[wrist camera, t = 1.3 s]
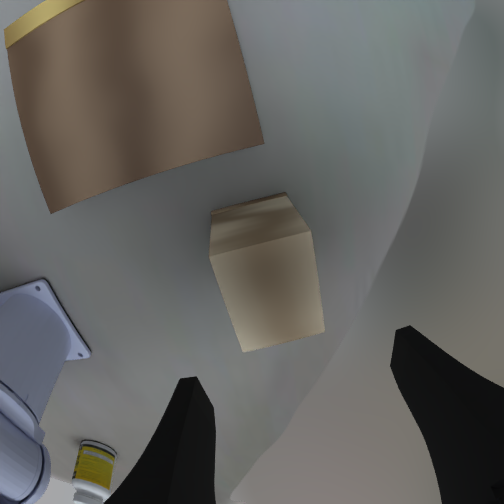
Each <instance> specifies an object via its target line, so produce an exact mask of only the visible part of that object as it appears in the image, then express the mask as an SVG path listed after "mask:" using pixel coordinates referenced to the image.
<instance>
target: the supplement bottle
mask: <svg viewBox="0 0 504 504" xmlns="http://www.w3.org/2000/svg"><path fill="white" fill-rule="evenodd" d="M116 458H117V455H116V453H115V452H114V451H113V450H112V449H111V448H109V447H107V446H105V445H103V444H100V443H97V442H93V441H83V442H82V443H81V445H80V448H79V452H78V456H77V461H76V465H75V469H74V473H73V478H72V485H73V487H74V488H75V489H76V490H77V493H75V494H74V499H73V502H74V503H76V504H103V503H104V502H103V499H107V498H109V497H110V494H111V489H112V482H113V476H114V470H115V464H116Z"/></svg>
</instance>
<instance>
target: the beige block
mask: <svg viewBox="0 0 504 504" xmlns="http://www.w3.org/2000/svg"><path fill="white" fill-rule="evenodd" d="M211 216H212V221H211V233H210V246H209V259H210V262H211V265H212V268H213V271H214V274H215V276H216V279H217V282H218V285H219V288H220V291H221V294H222V296H223V299H224V302H225V305H226V308H227V310H228V313H229V316H230V319H231V321H232V324H233V327H234V329H235V332H236V335H237V338H238V340H239V343H240V346H241V348H242V351H243V353H244V352H248V351H253V350H257V349H261V348H266V347H270V346H274V345H278V344H282V343H286V342H290V341H294V340H297V339H301V338H305V337H309V336H312V335H316V334H319V333H323V332H325V328H324V320H323V311H322V303H321V295H320V288H319V280H318V273H317V266H316V259H315V253H314V246H313V240H312V233H311V230H310V228H309V227H308V226H307V224H306V223H305V221H304V220H303V218H302V217H301V216H300V214H299V213H298V211H297V210H296V208H295V207H294V206H293V204H292V203H291V201H290V200H289V199H288V197H287V194H286V193H285V192H284V193H280V194H276V195H272V196H268V197H264V198H260V199H256V200H252V201H248V202H244V203H240V204H236V205H232V206H228V207H225V208H221V209H217V210H213V211H211Z"/></svg>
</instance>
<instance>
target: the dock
mask: <svg viewBox="0 0 504 504" xmlns="http://www.w3.org/2000/svg"><path fill="white" fill-rule="evenodd" d="M4 35H5V45H6V49H7V51H8V59H9V66H10V73H11V79H12V85H13V90H14V95H15V100H16V105H17V109H18V113H19V118H20V122H21V126H22V129H23V133H24V137H25V140H26V144H27V147H28V151H29V154H30V157H31V161H32V164H33V167H34V170H35V173H36V176H37V179H38V181H39V184H40V187H41V190H42V193H43V195H44V198H45V201H46V203H47V206H48V208H49V211H50V213H51V214H52V213H54V212H56V211H59V210H61V209H63V208H66V207H68V206H71V205H73V204H75V203H78V202H80V201H83V200H85V199H88V198H90V197H93V196H95V195H98V194H101V193H103V192H106V191H108V190H111V189H114V188H117V187H119V186H122V185H125V184H128V183H131V182H133V181H136V180H139V179H142V178H145V177H148V176H151V175H154V174H157V173H160V172H163V171H166V170H170V169H173V168H176V167H179V166H183V165H186V164H189V163H193V162H196V161H200V160H203V159H207V158H210V157H214V156H218V155H221V154H225V153H229V152H233V151H237V150H241V149H245V148H249V147H253V146H257V145H262V144H264V140H263V136H262V132H261V127H260V123H259V119H258V115H257V111H256V107H255V103H254V99H253V95H252V91H251V87H250V83H249V79H248V75H247V71H246V68H245V64H244V60H243V56H242V53H241V49H240V45H239V41H238V38H237V34H236V30H235V27H234V23H233V20H232V16H231V13H230V9H229V6H228V2H227V0H46V1H44V2H43V3H41V4H39V5H38V6H36V7H35V8H33V9H32V10H30V11H29V12H27V13H26V14H24V15H23V16H22V17H20V18H19V19H17V20H16V21H15V22H13V23H12V24H11V25H9V26H8V27H7V28H5V29H4Z"/></svg>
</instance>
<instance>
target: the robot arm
mask: <svg viewBox="0 0 504 504" xmlns="http://www.w3.org/2000/svg"><path fill="white" fill-rule="evenodd" d="M38 286H39V287H40V288H39V287H38ZM90 355H91V352H90V350H89V349H88V347H87V346H86V344H85V343H84V341H83V340H82V339H81V337H80V336H79V334H78V332H77V331H76V329H75V328H74V326H73V325H72V323H71V322H70V320H69V318H68V317H67V315H66V314H65V312H64V310H63V309H62V307H61V305H60V304H59V302H58V300H57V298H56V297H55V295H54V293H53V291H52V290H51V288H50V286H49V284H48V283H47V281H45V280H43V279H41V280H37V281H34V282H31V283H28V284H25V285H22V286H19V287H16V288H13V289H10V290H7V291H4V292H1V293H0V504H34V503H35V502H36V501H38V500H39V499H40V498H41V497H42V495H43V494H44V492H45V491H46V489H47V487H48V484H49V481H50V475H51V461H50V456H49V452H48V450H47V448H46V447H45V446H44V445H43V444H42V442H43V439H44V436H45V432H44V431H43V430H42V429H41V428H40V427H39V423H40V421H41V418H42V415H43V413H44V410H45V407H46V405H47V402H48V400H49V397H50V395H51V392H52V390H53V387H54V385H55V383H56V380H57V378H58V376H59V373H60V371H61V369H62V367H63V364H64V362H65V361H67V360H76V359H84V358H89V357H90ZM390 367H391V369H392V372H393V375H394V378H395V380H396V383H397V385H398V388H399V390H400V392H401V394H402V396H403V398H404V400H405V401H406V403H407V405H408V407H409V409H410V411H411V412H412V415H413V417H414V419H415V420H416V422H417V424H418V426H419V428H420V430H421V432H422V435H423V437H424V439H425V442H426V445H427V447H428V450H429V453H430V456H431V459H432V463H433V466H434V469H435V473H436V477H437V481H438V485H439V490H440V495H441V500H442V504H504V388H503V387H501V386H499V385H497V384H495V383H493V382H491V381H489V380H487V379H486V378H484V377H482V376H480V375H479V374H477V373H475V372H474V371H472V370H470V369H469V368H468V367H466V366H464V365H463V364H462V363H460V362H458V361H457V360H456V359H454V358H453V357H452V356H450V355H449V354H447V353H446V352H445V351H443V350H442V349H441V348H439V347H438V346H437V345H435V344H434V343H433V342H431V341H430V340H429V339H428V338H426V337H425V336H424V335H422V334H421V333H420V332H418V331H417V330H416V329H414V328H413V327H412V326H407V327H404V328H401V329H398V330H396V332H395V339H394V346H393V352H392V358H391V364H390ZM215 443H216V428H215V416H214V407H213V405H212V403H211V402H210V400H209V398H208V396H207V395H206V393H205V391H204V389H203V387H202V385H201V384H200V382H199V380H198V378H197V376H196V377H189V378H181V379H180V380H179V382H178V384H177V386H176V388H175V391H174V393H173V395H172V398H171V400H170V402H169V404H168V406H167V409H166V411H165V413H164V415H163V417H162V419H161V421H160V423H159V425H158V427H157V429H156V431H155V433H154V435H153V436H152V438H151V440H150V442H149V443H148V445H147V447H146V449H145V451H144V452H143V454H142V455H141V457H140V459H139V460H138V462H137V463H136V465H135V466H134V467H133V469H132V470H131V472H130V473H129V474H128V476H127V477H126V478H125V480H124V481H123V482H122V483H121V485H120V486H119V487H118V488H117V490H116V491H115V492H114V493H113V494H112V495H111V496H110V497H109V498H108V499H107V500H106V501H105V502H104V503H103V504H216V501H215V491H214V474H215Z"/></svg>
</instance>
